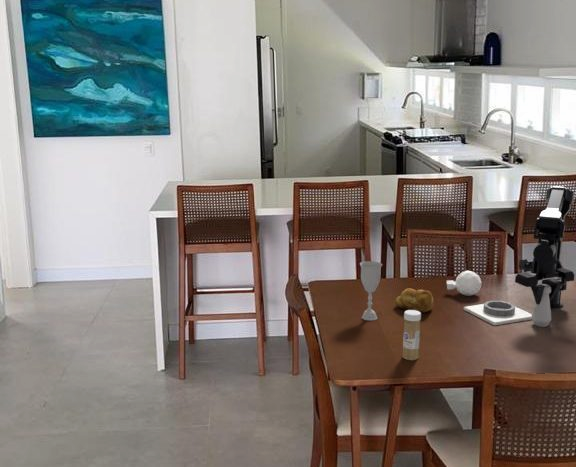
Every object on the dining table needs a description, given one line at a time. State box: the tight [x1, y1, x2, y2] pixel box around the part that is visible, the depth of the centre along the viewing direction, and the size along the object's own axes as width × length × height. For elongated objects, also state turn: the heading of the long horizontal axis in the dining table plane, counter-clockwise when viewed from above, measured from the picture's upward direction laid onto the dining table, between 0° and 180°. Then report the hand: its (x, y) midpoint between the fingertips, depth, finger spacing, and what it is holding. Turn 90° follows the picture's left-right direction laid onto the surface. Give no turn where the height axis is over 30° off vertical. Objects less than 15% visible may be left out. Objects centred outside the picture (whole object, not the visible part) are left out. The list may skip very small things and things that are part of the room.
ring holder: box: [463, 300, 533, 326], centre depth 236 cm, size 16×16×3 cm
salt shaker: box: [531, 284, 552, 328], centre depth 226 cm, size 6×6×13 cm
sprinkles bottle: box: [402, 309, 422, 361], centre depth 200 cm, size 5×5×13 cm
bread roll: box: [394, 287, 434, 313], centre depth 241 cm, size 13×10×8 cm
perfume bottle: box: [446, 270, 483, 297], centre depth 256 cm, size 9×9×12 cm
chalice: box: [359, 260, 383, 321], centre depth 231 cm, size 7×7×18 cm
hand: (542, 303), depth 225 cm, fingers closed on salt shaker, 4 cm apart
